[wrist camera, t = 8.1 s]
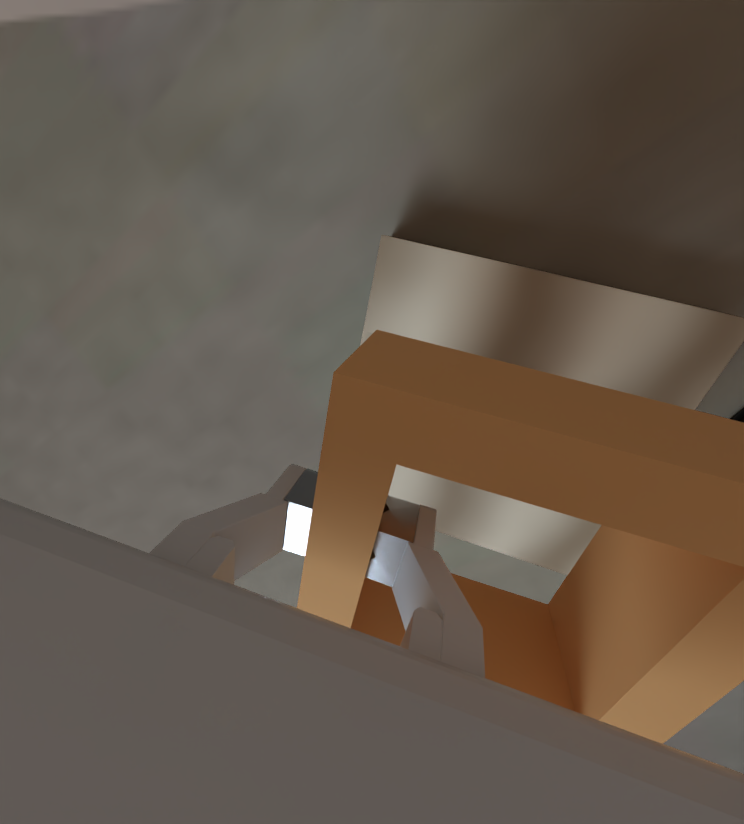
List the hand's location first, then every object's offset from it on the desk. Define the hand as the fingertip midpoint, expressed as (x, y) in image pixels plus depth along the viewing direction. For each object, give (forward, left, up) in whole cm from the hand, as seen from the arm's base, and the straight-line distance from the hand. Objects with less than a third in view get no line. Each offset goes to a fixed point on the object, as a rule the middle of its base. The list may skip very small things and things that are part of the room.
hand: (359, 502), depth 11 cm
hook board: (-5, 0, -9) cm, 10 cm away
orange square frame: (-4, 0, -2) cm, 5 cm away
